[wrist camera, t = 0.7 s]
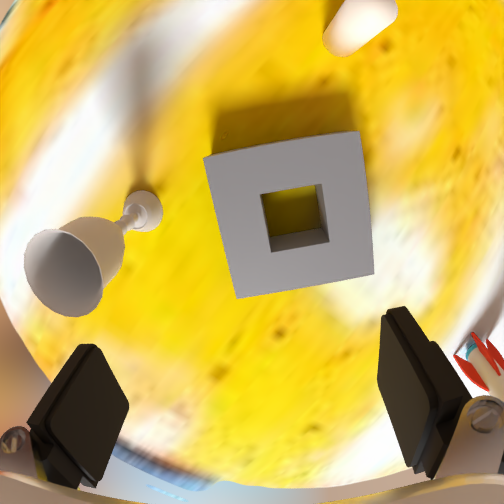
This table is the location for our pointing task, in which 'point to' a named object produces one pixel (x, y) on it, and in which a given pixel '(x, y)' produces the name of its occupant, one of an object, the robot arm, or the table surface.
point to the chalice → (85, 256)
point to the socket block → (299, 243)
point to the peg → (357, 24)
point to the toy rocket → (484, 367)
